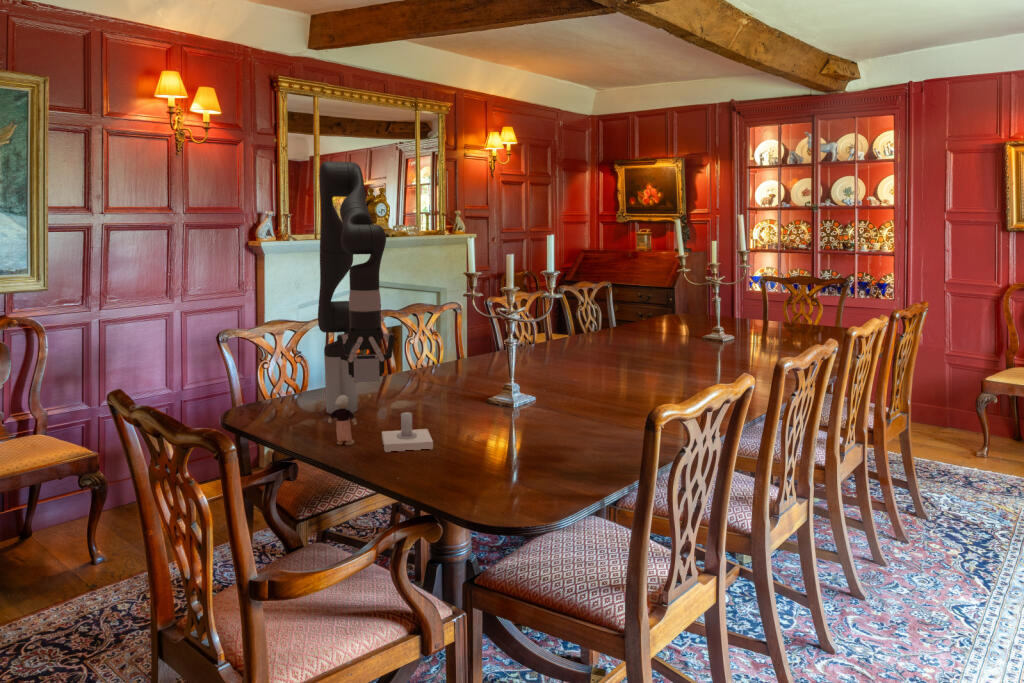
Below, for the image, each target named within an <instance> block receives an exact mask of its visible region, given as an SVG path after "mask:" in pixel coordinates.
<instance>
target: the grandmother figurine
mask: <svg viewBox="0 0 1024 683" xmlns="http://www.w3.org/2000/svg"><path fill="white" fill-rule="evenodd" d="M335 404H336V405H337V406H338V407H339V408H340V409H337V410H335V411H333V412H332V413H331V414H330V413H329V417H328V420H327V423H328V424H332V422H333V420H335V419H336V427H335V428H336V440H337V443H336V445H337V444H338V445H340V446H341V445H344V444H345V445H346V446H351V445H354V444H355V440H354V439H353V438H352V428H351V422H352V425H354V426H357V424H358V422H357V420H356V417H355V414H354V412H353V413H352V412H351V411H350V410H347V409H345V408H346V407H347V406H348V397H347V396H345V395H341V396H339V397H338V398H337V400H336V403H335ZM350 420H351V421H350ZM338 445H337V446H338Z"/></svg>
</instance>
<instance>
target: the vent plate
mask: <svg viewBox="0 0 1024 683" xmlns="http://www.w3.org/2000/svg"><path fill="white" fill-rule="evenodd" d="M400 428H401V429H400V430H385V431H381V441H382V446H383V445H384V446H383V451H384V453H392V452H391V451H398V452H406V451H405V450H414V451H422V450H421V449H430V450H434V440H433V439H432V436H431V434H430V432H429V429H428V428H421V429H420V428H418V429H413V413H412V412H410V411H409V412H406V411H405V412H401V413H400Z"/></svg>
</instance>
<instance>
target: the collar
mask: <svg viewBox="0 0 1024 683" xmlns="http://www.w3.org/2000/svg"><path fill="white" fill-rule="evenodd" d="M354 382H357V383H372V382H373V383H374V382H375V383H377V382H378V383H379V382H380V376H379V358H378V356H377V354H360V355H359V354H356V355H355V357H354Z"/></svg>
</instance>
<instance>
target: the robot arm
mask: <svg viewBox="0 0 1024 683" xmlns="http://www.w3.org/2000/svg"><path fill="white" fill-rule="evenodd" d="M318 176H319V177H318V178H319V180H318V181H319V182H318V183H319V200H320V231H319V233H320V235H319V236H320V237H319V273H320V274H319V275H320V276H319V279H320V280H319V295H318V309H317V324H318V327H319V331H321V332H322V333H327V334H329V333H330V334H334V333H343V334H338V335H337V336H336V340H334V341H332V342H330V343H328V344H326V345H325V346H324V347H323V348H324V349H323V351H324V352H323V354H324V355H323V357H324V379H325V380H324V381H325V384H324V385H325V410H326V411H325V412H326V413H328V414H329V415H330V414H331V413H332V412H333V411H335V410H337V409H340V408H339V407H338V406H337V405H336V404H335V403H336V400H337V398H338V397H339V396H341V395H345V396H347V397H348V406H347V407H346V408H345V409H347V410H350V411H351V412H352V413H353V414H354V413H355V412H357V411H358V382H354V357H355V355H358V354H357V353H358V351H364V350H367V351H374V352H375V355H377V356H378V358H379V377H382V376H383V375H384V374H385V367H386V366H385V361H386V360H389V359H392V356H393V351H394V342H395V335H394V333H391V332H390V333H386V332H385V333H384V332H383V330H382V303H381V302H382V300H381V299H382V298H381V291H380V270H381V262H382V260H383V259H382V258H383V254H384V251H385V248H386V244H387V234H386V231H385V229H384V228H383V227H382V226H381V225H379V224H373V220H372V217H371V216H372V215H371V213H370V210H369V208H368V204H367V197H366V188H365V183H364V181H365V180H364V175H363V172H362V168H361V167H360V165H359V164H358V163H356V162H353V161H352V162H351V161H323V162H322V163H321V165H320V167H319V175H318ZM336 197H338V198H343V197H345V198H344V199H343V201H342V202H341V205H340V209H339V213H340V214H338V212H337V210H336V207H335V206H334V203H333V198H336ZM339 215H340V216H339ZM354 255H369V258H368V259H367V261H365V262H362V263H357V264H353V263H354ZM348 273H349V297H348V300H336V301H335V300H334V301H333V300H332V299H333V295H334V294H335V291H336V289H337V287H338V286H339V284H340V283H341V282H342V280H343V279H345V277H346V275H347V274H348ZM383 338H384V340H385V342H386V343H387V345H386V346H387V347H386V353H383V352H382V350H381V348H380V346H379V344H380V343H381V341H382V340H383Z"/></svg>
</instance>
